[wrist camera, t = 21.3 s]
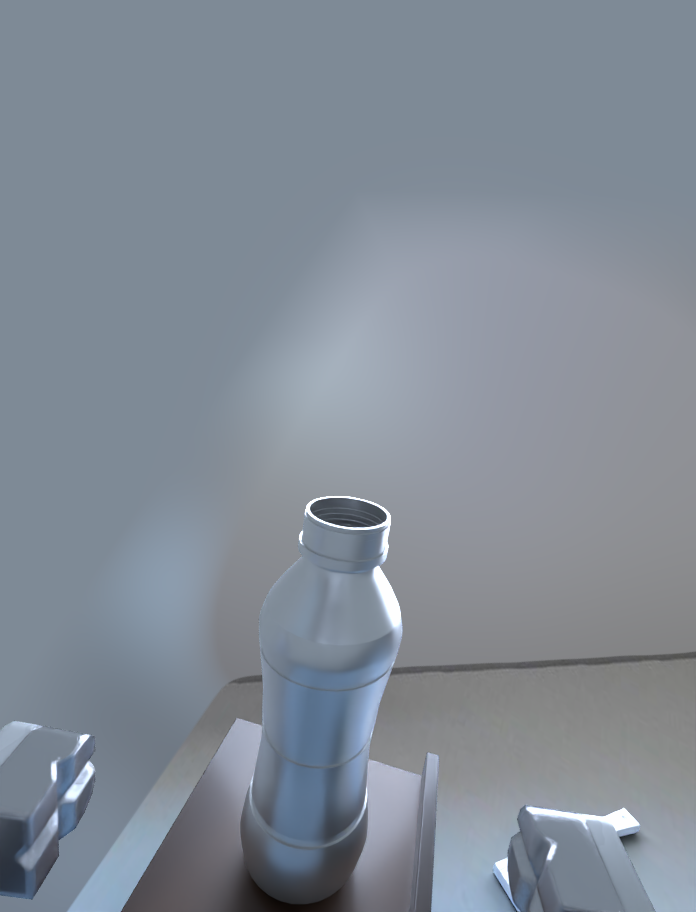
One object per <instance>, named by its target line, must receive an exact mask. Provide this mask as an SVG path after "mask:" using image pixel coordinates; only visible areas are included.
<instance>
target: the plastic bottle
mask: <svg viewBox="0 0 696 912" xmlns="http://www.w3.org/2000/svg"><path fill="white" fill-rule="evenodd" d="M390 523H391V522H390V514H389V513H388V511H387V510H385V509H384V508H383V507H381V506H379V505H377V504H375V503H372V502H369V501H366V500H362V499H357V498H352V497H341V496H339V497H338V496H332V497H322V498H319V499H315V500H313V501H311V502H310V503H308V505H307V508H306V510H305V516H304V524H303V531H302V532H301V533H300V536H299V543H298V549H299V552H300V553H301V555H302V557H301V558H300V559H299V560H298V561H297V562H295V563H294V564H293V565H292V566H291V567H290V568H289V569H288V570H287V571H286V572H285V573H284V574H283V575H282V576H281V577H280V579H279V580H278V581H277V582H276V583H275V584H274V585H273V587H272V588H271V590H270V591H269V593H268V595H267V597H266V599H265V602H264V604H263V606H262V609H261V612H260V616H259V641H260V652H261V664H262V677H263V708H262V713H263V718H262V736H261V741H260V746H259V751H258V756H257V761H256V766H255V771H254V775H253V778H252V780H251V783H250V785H249V788H248V791H247V794H246V798H245V802H244V806H243V810H242V815H241V820H240V836H241V842H242V849H243V855H244V859H245V864H246V867H247V869H248V871H249V873H250V875H251V877H252V879H253V880H254V881H255V883H256V884H257V885H258V887H260V888H261V889H262V890H263V891H264V892H265V893H267V894H268V895H269V896H271V897H273V898H275V899H277V900H279V901H282V902H286V903H290V904H309V903H314V902H318V901H321V900H323V899H325V898H327V897H329V896H331V895H332V894H334V893H335V892H336V891H338V890H339V889H340V888H341V887H342V886H343V885H344V884H345V883H346V881H347V880H348V879H349V878H350V876H351V874H352V872H353V871H354V869H355V867H356V865H357V862H358V860H359V858H360V856H361V853H362V851H363V848H364V845H365V842H366V839H367V831H368V795H367V773H368V759H369V746H370V742H371V738H372V733H373V728H374V725H375V721H376V717H377V713H378V708H379V704H380V701H381V698H382V695H383V692H384V689H385V687H386V684H387V681H388V678H389V676H390V673H391V670H392V667H393V664H394V662H395V658H396V656H397V654H398V650H399V646H400V642H401V638H402V630H403V628H402V621H401V614H400V609H399V604H398V602H397V599H396V597H395V595H394V593H393V590H392V588H391V586H390V584H389V582H388V581H387V579H386V577H385V576H384V574H383V572H382V571H381V569H380V567H379V566H380V565H381V564H382V563H384V561H385V560H386V556H387V551H388V543H387V538H388V533H389V528H390Z"/></svg>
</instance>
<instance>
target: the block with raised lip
mask: <svg viewBox="0 0 696 912" xmlns="http://www.w3.org/2000/svg"><path fill="white" fill-rule="evenodd" d="M261 736H262V725H258V724H255V723H252V722H249V721H246V720H242V719H239V718H236V720H235V721H234V723H233V725H232V726H231V728H230V730H229V731H228V733H227V735H226V736H225V738H224V740H223V742H222V743H221V745H220V747H219V748H218V750H217V752H216V753H215V755H214V757H213V758H212V760H211V762H210V763H209V765H208V767H207V768H206V770H205V772H204V773H203V775H202V777H201V778H200V780H199V782H198V783H197V785H196V787H195V788H194V790H193V792H192V793H191V795H190V797H189V799H188V800H187V802H186V804H185V805H184V807H183V809H182V810H181V812H180V814H179V815H178V817H177V819H176V820H175V822H174V824H173V825H172V827H171V829H170V830H169V832H168V834H167V835H166V837H165V839H164V840H163V842H162V844H161V845H160V847H159V849H158V850H157V852H156V854H155V856H154V857H153V859H152V861H151V862H150V864H149V866H148V867H147V869H146V871H145V872H144V874H143V876H142V877H141V879H140V881H139V882H138V884H137V886H136V887H135V889H134V891H133V892H132V894H131V896H130V897H129V899H128V901H127V902H126V904H125V906H124V907H123V909H122V911H121V912H431V903H432V884H433V865H434V846H435V827H436V808H437V789H438V770H439V755H436V754H433V753H429V752H427V755H426V759H425V763H424V768H423V772H422V776H421V775H418V774H415V773H411V772H408V771H405V770H402V769H399V768H395V767H392V766H389V765H386V764H383V763H380V762H376V761H373V760H370V759H368V773H367V795H368V831H367V839H366V842H365V845H364V848H363V851H362V853H361V856H360V858H359V860H358V862H357V865H356V867H355V869H354V871H353V872H352V874H351V876H350V878H349V879H348V880H347V881H346V883H345V884H344V885H343V886H342V887H341V888H340V889H339V890H338V891H336V892H335V893H334V894H332V895H331V896H329V897H327V898H325V899H323V900H321V901H318V902H314V903H309V904H290V903H286V902H282V901H279V900H277V899H275V898H273V897H271V896H269V895H268V894H267V893H265V892H264V891H263V890H262V889H261V888H260V887H258V885H257V884H256V883H255V881H254V880H253V879H252V877H251V875H250V873H249V871H248V869H247V867H246V864H245V859H244V855H243V849H242V842H241V836H240V820H241V815H242V810H243V806H244V802H245V798H246V794H247V791H248V788H249V785H250V783H251V780H252V778H253V775H254V771H255V766H256V761H257V756H258V751H259V746H260V741H261Z"/></svg>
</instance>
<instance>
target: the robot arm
mask: <svg viewBox="0 0 696 912" xmlns="http://www.w3.org/2000/svg"><path fill="white" fill-rule="evenodd" d="M94 751H95V737H94V736H92V735H88V734H83V733H77V732H72V731H67V730H62V729H57V728H52V727H47V726H42V725H35V724H29V723H24V722H18V721H13V722H11V723H10V724H8V725H6V726H5V727H3V728H2V729H1V731H0V895H1V896H9V897H16V898H24V899H31V900H32V899H33V897H34V896H35V894H36V893H37V891H38V889H39V888H40V886H41V884H42V883H43V881H44V879H45V878H46V876H47V875H48V873H49V871H50V870H51V868H52V866H53V865H54V863H55V861H56V860H57V858H58V856H59V840H60V839H61V838H63V837H64V836H66V835H67V834H68V833H70V832H71V831H73V830H74V829H75V828H76V826H77V825H78V823H79V821H80V819H81V818H82V816H83V814H84V812H85V810H86V808H87V805H88V803H89V800H90V798H91V795H92V792H93V788H94V782H95V768H94V767H93V765H92V764H91V763H90V761H89V759H90V758H91V756H92V755H93V753H94ZM517 821H518V824H519V828H520V832H518V833H517V834H516V835H514V836H513V837H511V841H510V845H509V849H508V860H507V871H508V879H509V886H510V890H511V895H512V899H513V902H514V904H515V905H516V906H517V908H518V909H519V910H520V912H656V911H655V909H654V907H653V905H652V903H651V901H650V899H649V897H648V895H647V893H646V891H645V889H644V887H643V885H642V883H641V881H640V879H639V877H638V875H637V872H636V870H635V868H634V866H633V864H632V862H631V860H630V858H629V856H628V854H627V852H626V850H625V848H624V846H623V844H622V842H621V840H620V838H619V836H618V834H617V832H616V830H615V827H614V825H613V824H612V823H611V822H610V821H609V819H608V818H604V817H598V816H592V815H586V814H577V813H576V812H570V811H563V810H556V809H550V808H543V807H536V806H529V805H524V806H523V807H522V808H521V809H520V812H519V815H518V818H517Z"/></svg>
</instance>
